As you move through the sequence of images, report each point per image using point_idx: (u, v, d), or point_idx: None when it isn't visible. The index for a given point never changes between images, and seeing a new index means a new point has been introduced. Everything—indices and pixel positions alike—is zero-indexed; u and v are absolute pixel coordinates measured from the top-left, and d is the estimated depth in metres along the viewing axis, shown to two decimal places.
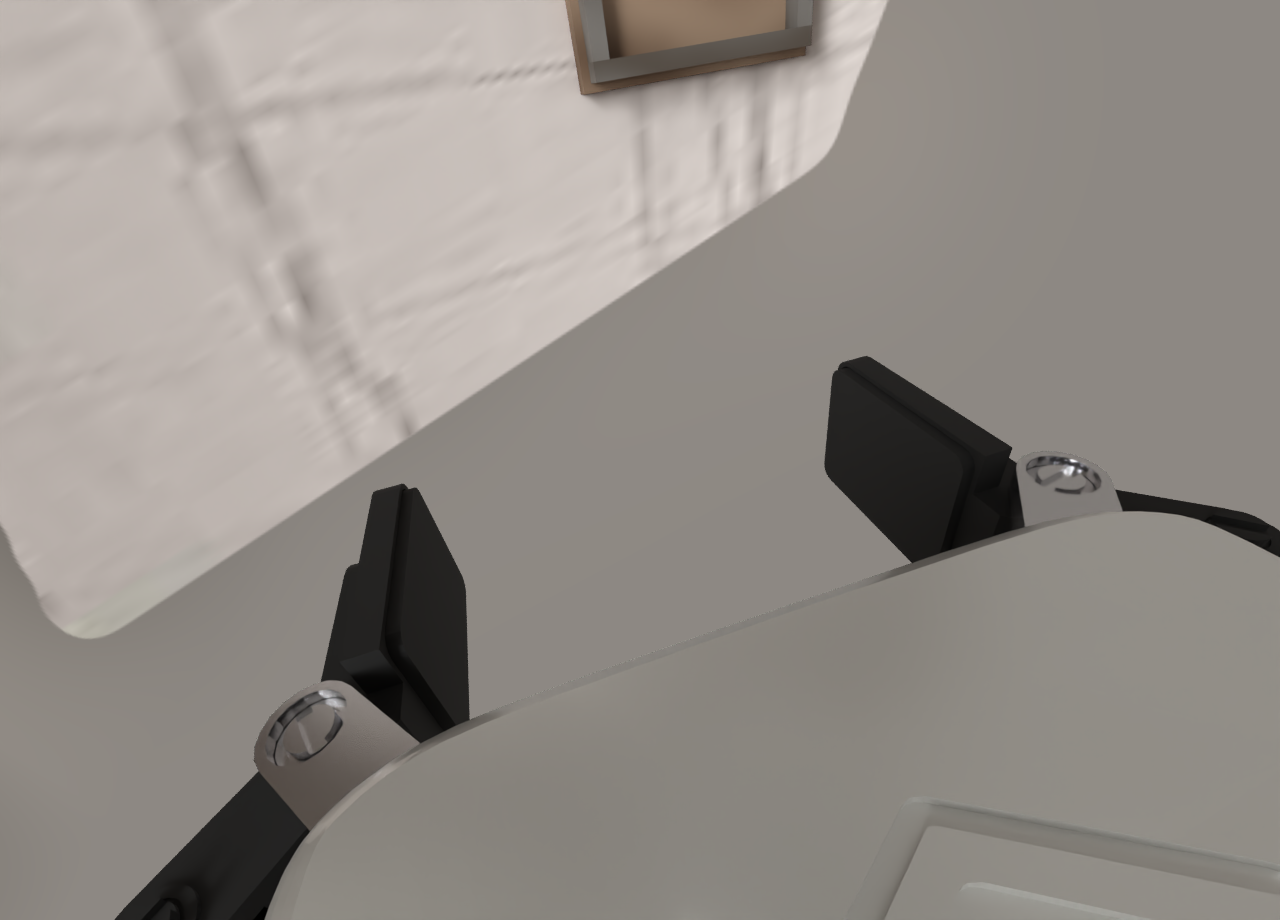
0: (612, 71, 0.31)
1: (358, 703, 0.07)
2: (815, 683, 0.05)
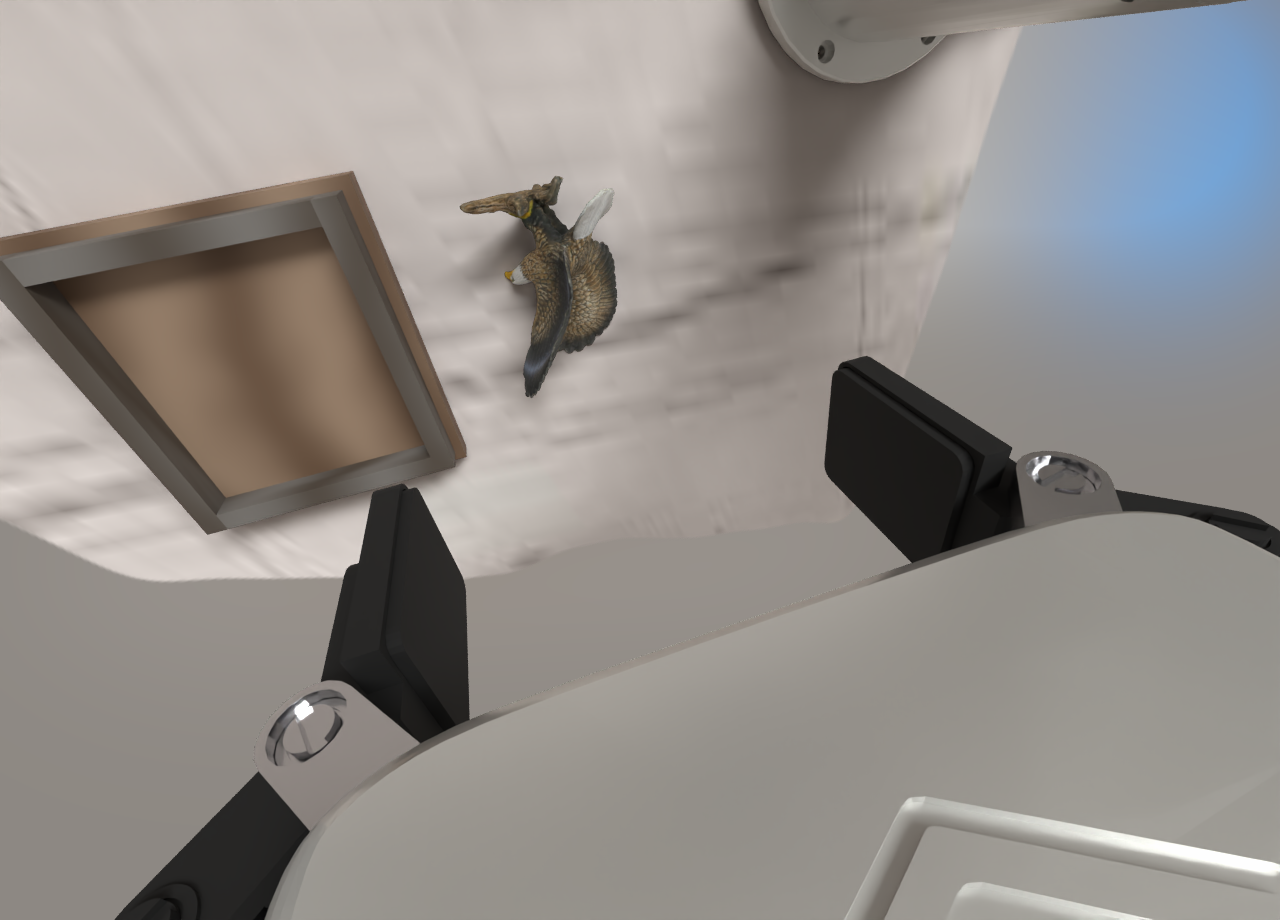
0: (7, 292, 0.20)
1: (358, 703, 0.07)
2: (815, 683, 0.05)
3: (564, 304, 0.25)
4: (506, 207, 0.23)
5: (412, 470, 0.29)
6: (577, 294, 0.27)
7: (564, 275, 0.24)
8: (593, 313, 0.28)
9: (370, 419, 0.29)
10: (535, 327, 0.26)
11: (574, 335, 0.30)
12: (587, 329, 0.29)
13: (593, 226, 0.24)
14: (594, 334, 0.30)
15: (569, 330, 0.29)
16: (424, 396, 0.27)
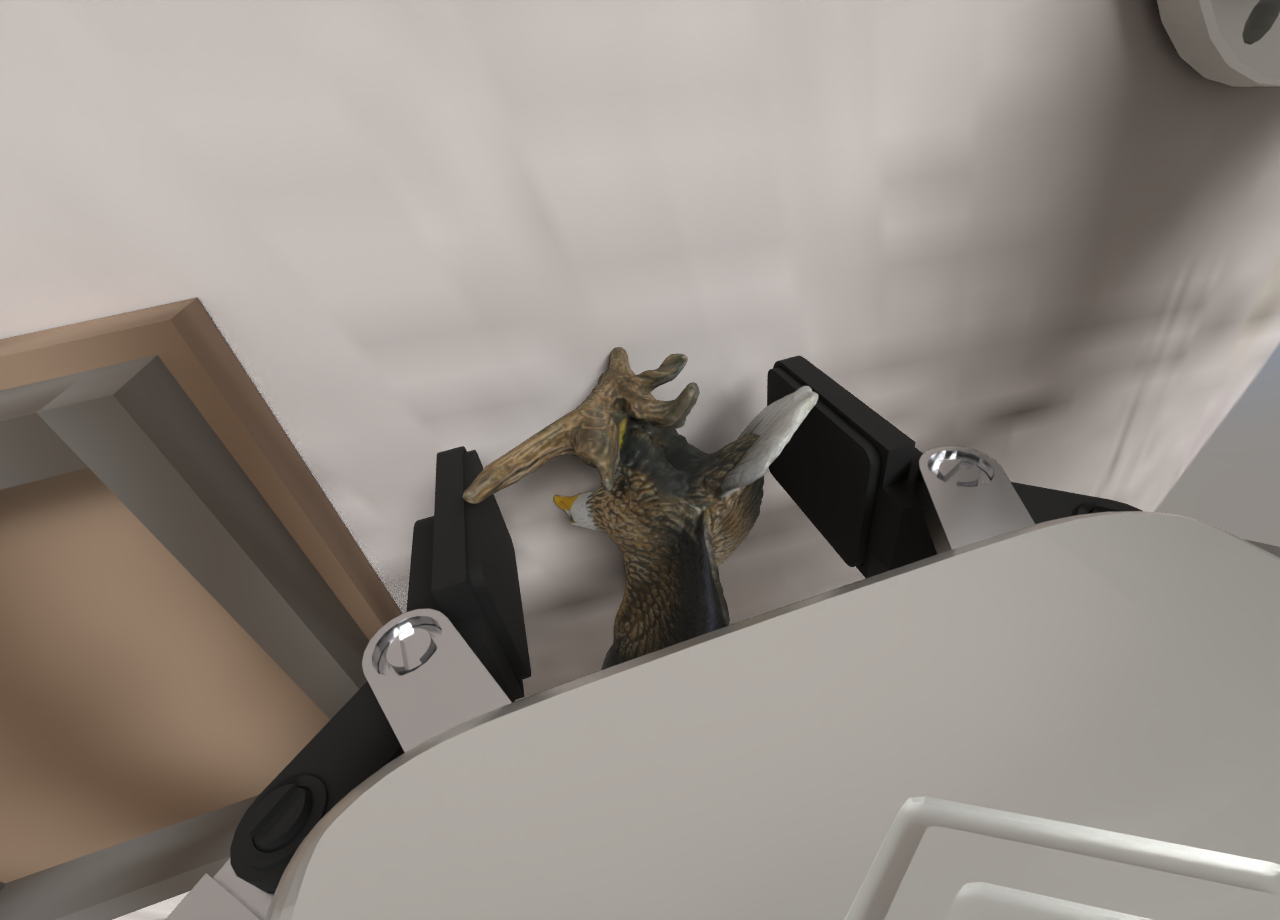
0: None
1: (451, 626, 0.07)
2: (815, 683, 0.05)
3: (696, 616, 0.11)
4: (570, 448, 0.10)
5: None
6: None
7: (697, 567, 0.11)
8: (722, 560, 0.15)
9: (284, 733, 0.15)
10: (622, 623, 0.13)
11: None
12: None
13: None
14: None
15: None
16: None
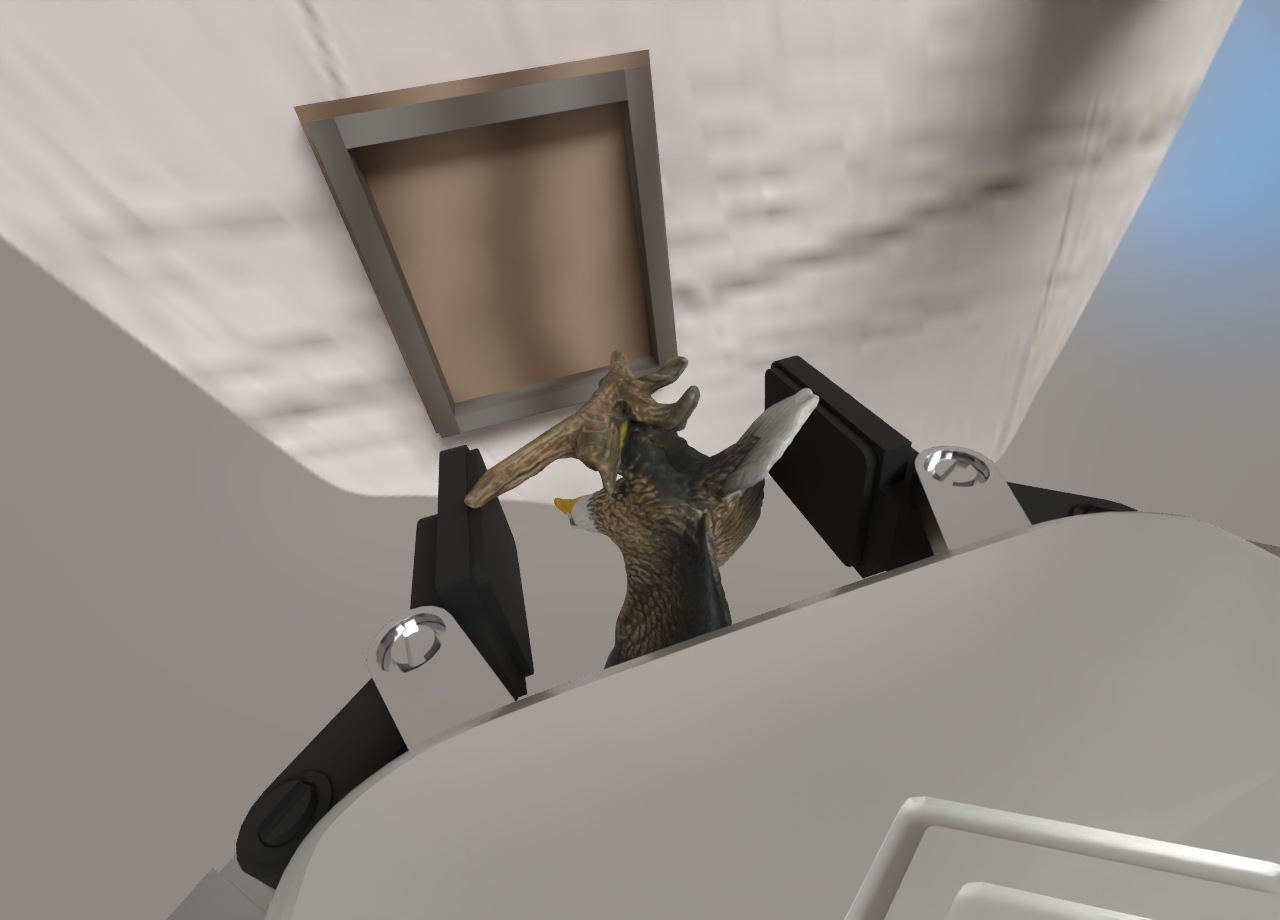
0: (331, 153, 0.20)
1: (455, 623, 0.07)
2: (815, 683, 0.05)
3: (698, 619, 0.11)
4: (571, 451, 0.10)
5: None
6: None
7: (699, 570, 0.11)
8: (723, 562, 0.15)
9: (603, 325, 0.28)
10: (624, 625, 0.13)
11: None
12: None
13: None
14: None
15: None
16: (670, 297, 0.27)
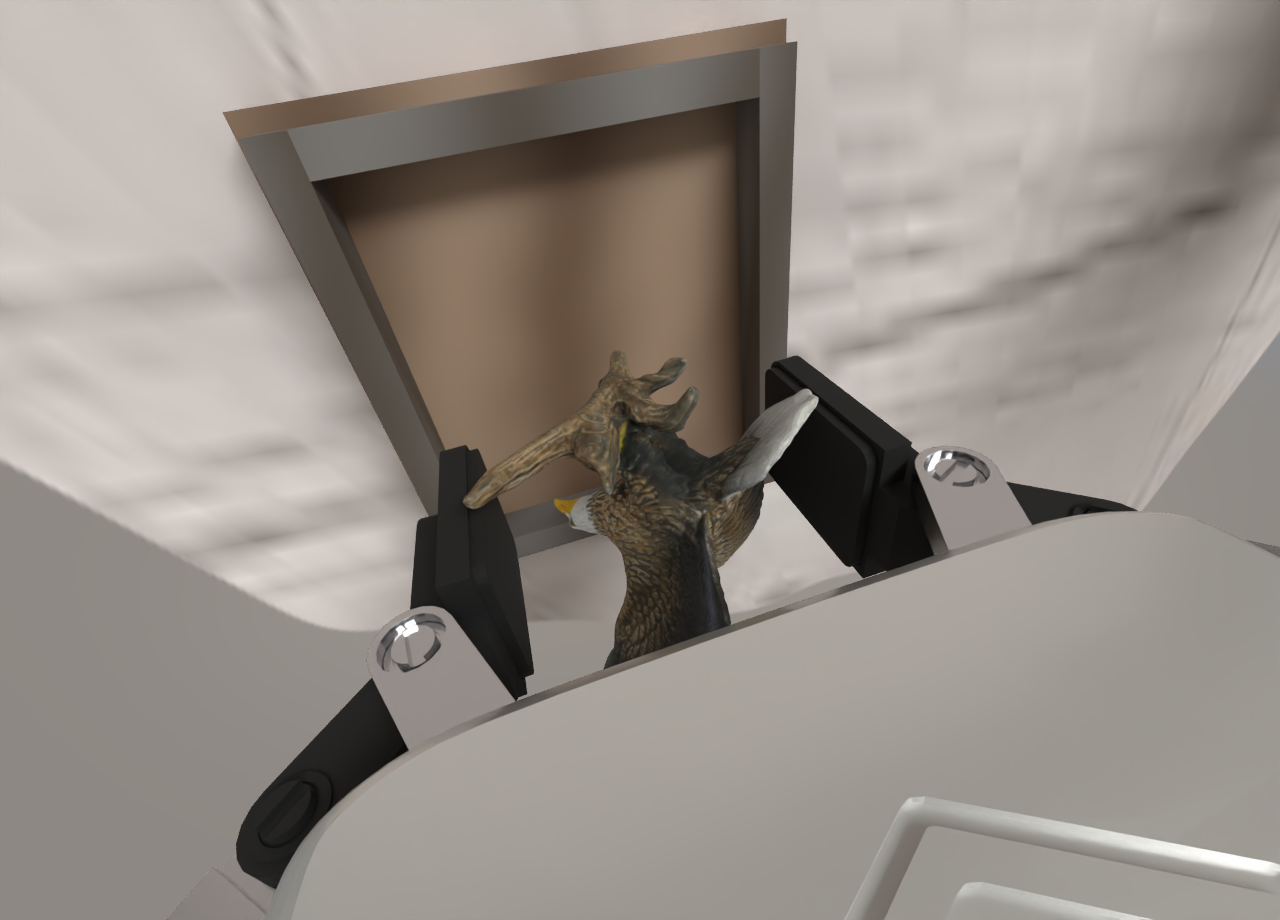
0: (284, 189, 0.12)
1: (455, 623, 0.07)
2: (815, 683, 0.05)
3: (697, 619, 0.11)
4: (570, 452, 0.10)
5: None
6: None
7: (698, 570, 0.11)
8: (723, 563, 0.15)
9: None
10: (623, 626, 0.13)
11: None
12: None
13: None
14: None
15: None
16: None
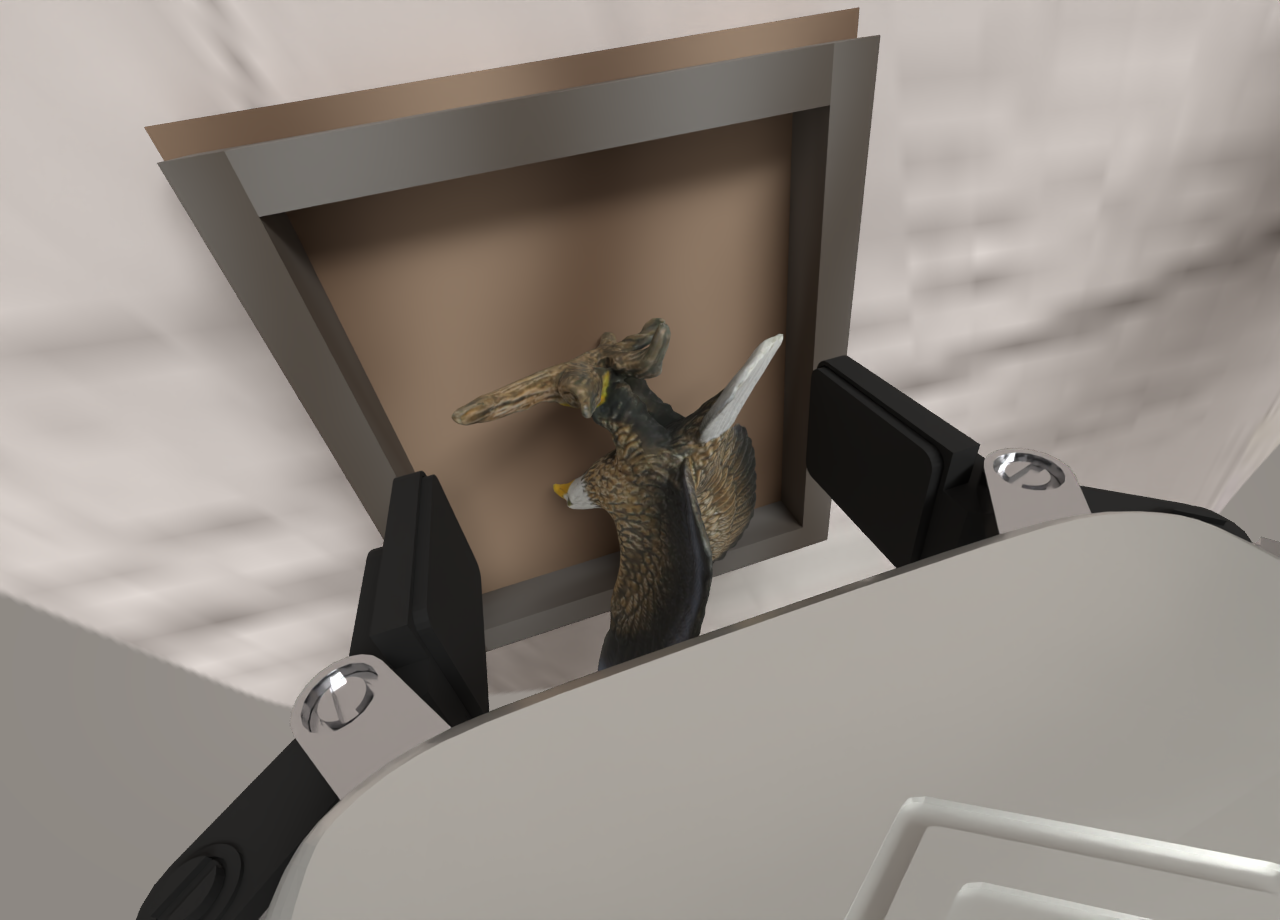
0: (224, 228, 0.09)
1: (388, 675, 0.07)
2: (815, 683, 0.05)
3: (685, 571, 0.11)
4: (555, 394, 0.11)
5: (771, 548, 0.18)
6: None
7: (683, 516, 0.11)
8: (720, 546, 0.15)
9: None
10: (618, 599, 0.13)
11: None
12: None
13: (738, 410, 0.11)
14: None
15: None
16: None
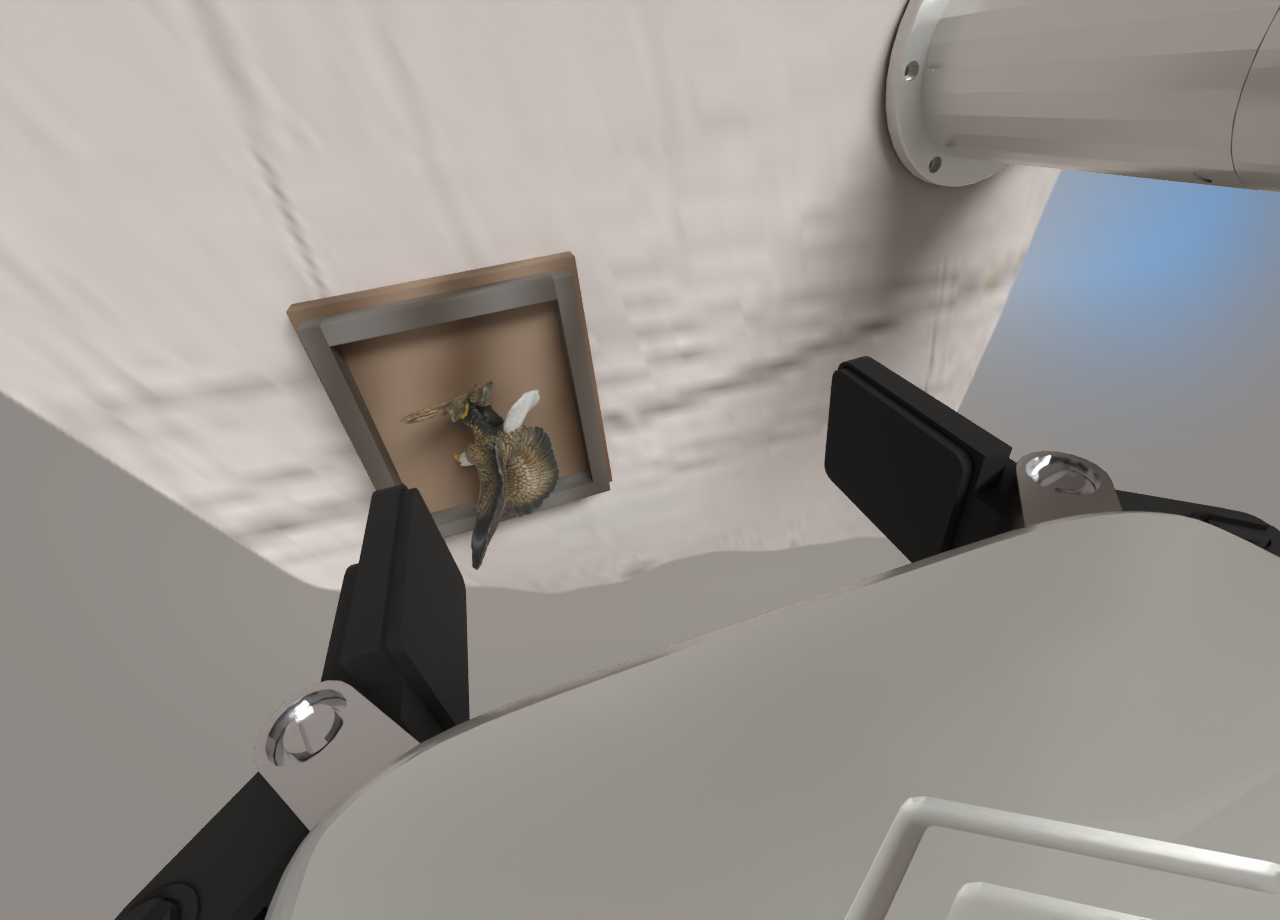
0: (316, 350, 0.25)
1: (358, 703, 0.07)
2: (815, 683, 0.05)
3: (501, 486, 0.28)
4: (444, 412, 0.27)
5: (577, 493, 0.34)
6: (517, 472, 0.30)
7: None
8: (535, 484, 0.31)
9: None
10: (479, 505, 0.29)
11: (521, 502, 0.32)
12: (532, 497, 0.32)
13: (522, 420, 0.27)
14: (541, 498, 0.33)
15: (515, 500, 0.32)
16: (599, 431, 0.32)
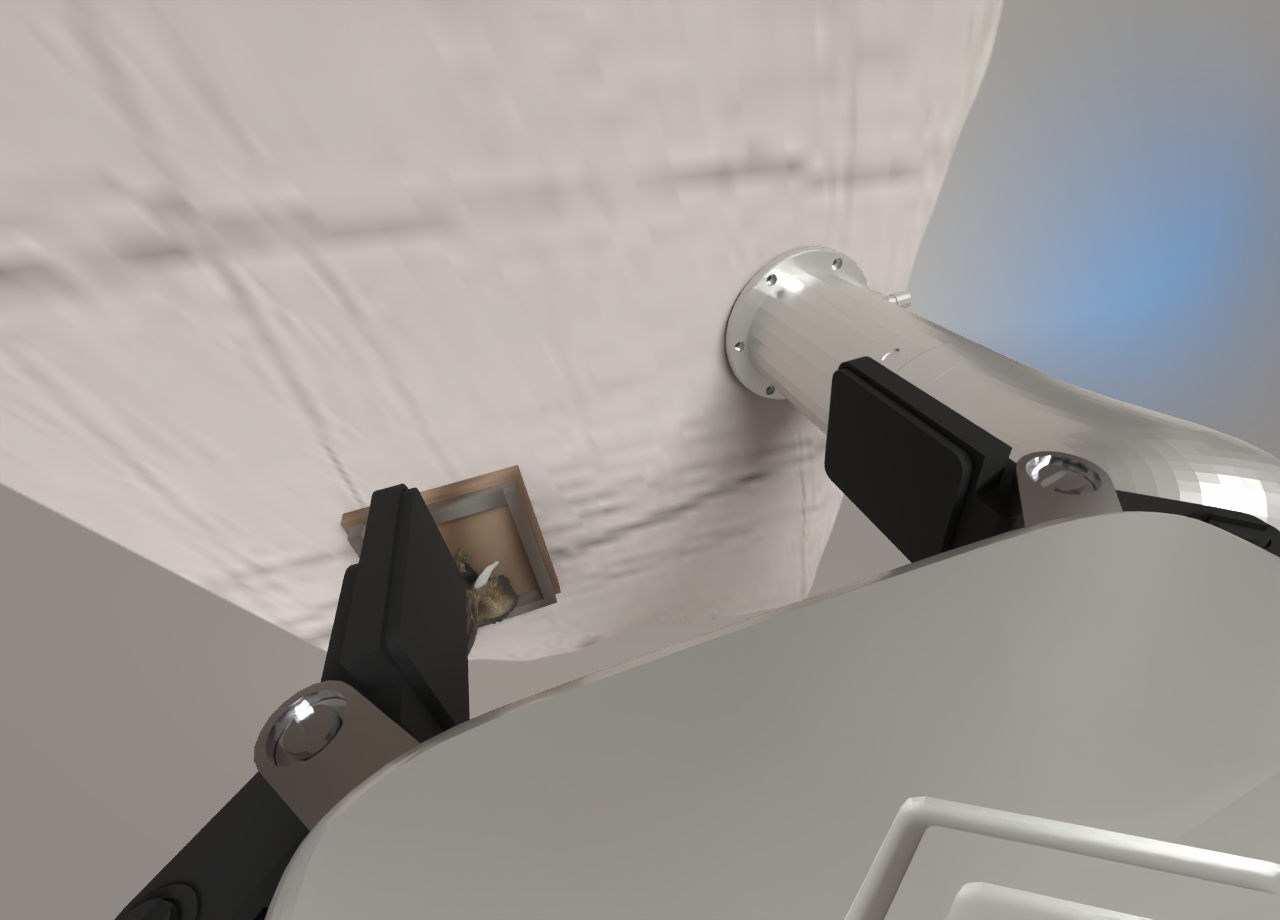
0: (359, 547, 0.41)
1: (358, 703, 0.07)
2: (815, 683, 0.05)
3: None
4: None
5: (533, 606, 0.50)
6: (487, 604, 0.45)
7: None
8: (500, 609, 0.47)
9: (510, 578, 0.49)
10: None
11: (493, 617, 0.48)
12: (500, 614, 0.48)
13: (486, 579, 0.43)
14: (507, 612, 0.49)
15: (488, 617, 0.48)
16: (545, 569, 0.48)
